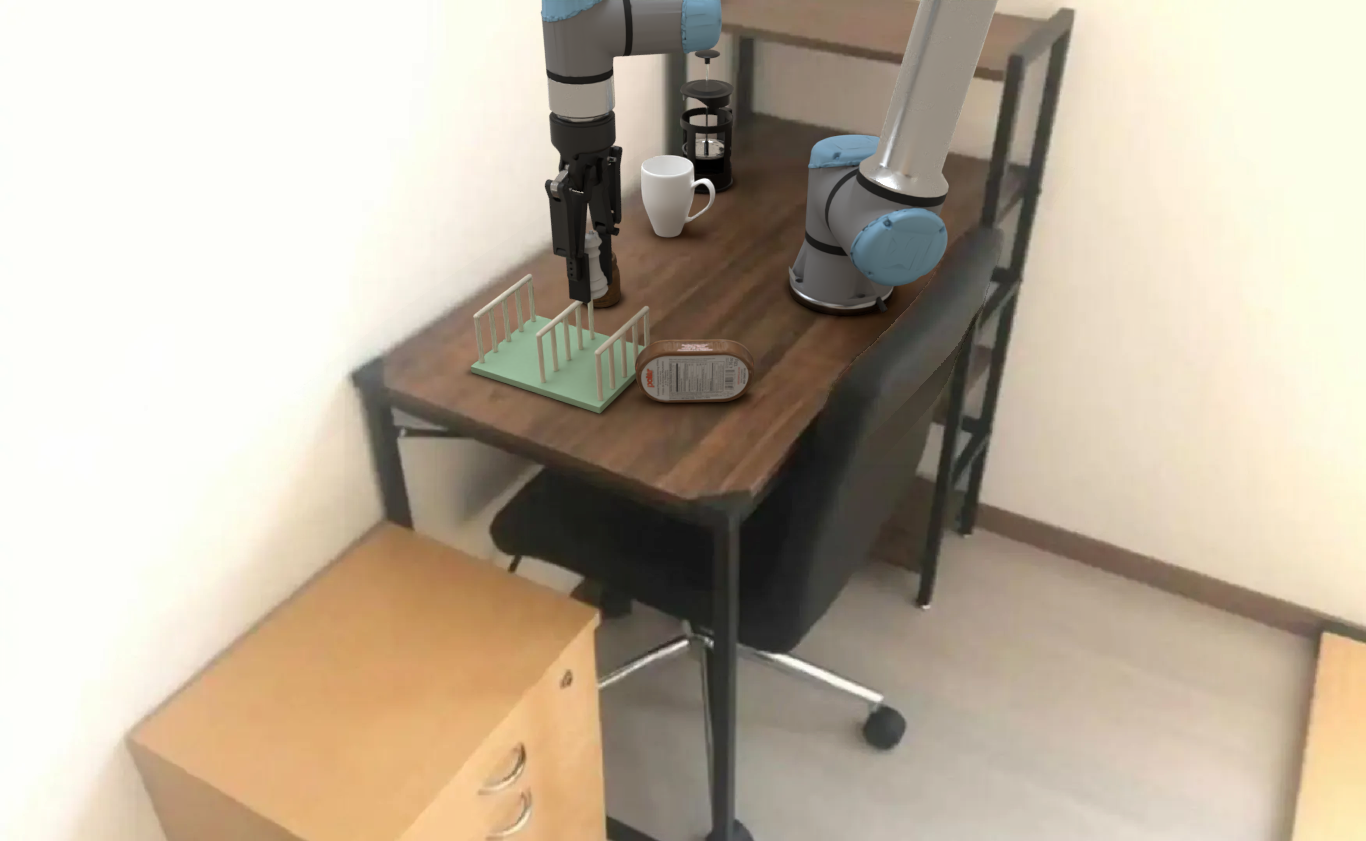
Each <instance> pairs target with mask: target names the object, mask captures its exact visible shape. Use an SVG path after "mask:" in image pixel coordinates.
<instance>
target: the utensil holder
mask: <svg viewBox="0 0 1366 841" xmlns="http://www.w3.org/2000/svg"><path fill="white" fill-rule="evenodd" d="M593 232H595V230H593ZM612 278H613V283H612V284H611V285H610V286H609V285H607V286H608V290H607V292H606V293H605V295H604V296H602V297H600V298H597V299H593V308H597V309H598V308H601V309H602V308H608V307H611V306H614V305H615V304H616V303H617V304H618V301H619V300H620V298H621V272H620V267H619V266H618V258H617V255H616V253H615V252H614V251H613V250H612ZM584 304H585V305H586V306H588V303H584Z"/></svg>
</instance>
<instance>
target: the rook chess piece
mask: <svg viewBox="0 0 1366 841" xmlns="http://www.w3.org/2000/svg"><path fill="white" fill-rule="evenodd" d="M593 231H594V230H593V229H588V233H587V232H586V235H585V249H584V253H587V254H589V270H590V289H591V299H597V298H600V297H602V296H604V295H605V293H606V292H607V290H608V286H607V279H606V277H605V276H604V274H603V272H602V271H601V268H600V263H599V254H600V250H599V249H598V247H599V245H600V244H601V243H602V240H601V239H600V238H599V235H598V232H596V231H594V234H593Z"/></svg>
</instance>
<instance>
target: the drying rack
mask: <svg viewBox="0 0 1366 841" xmlns="http://www.w3.org/2000/svg"><path fill="white" fill-rule="evenodd" d="M525 284H527V291H528V304H529V313H530V318H529V319H528V320H526V321H525V322H524V318H523V308H522V298H521V288H522V287H523V286H525ZM512 294H514V299H515V308H516V317H517V327H518V328H516V329H515V330H514V331H512V332H511V325H510V319H509V318H510V317H509V306H508V297H510V296H511V295H512ZM534 294H535V293H534V283H533V275H532V274H531V273H528V274H526V275H525V276H524V277H522V278H521V279H519V280H518V281H517V282H515V283H514V284H513V285H511V286H510V287H508V288H507V289H506V290H505V291H504V292H502V293H501V294H499V295H498V296H497V297H496V298H494V299H492V300H491V301H490V302H489V303H487V304H486V305H485V306H483V307H482V308H480V309H479V310H478V311H477V312H475V313H474V314H473V316H472V317H473V323H474V329H475V330H474V331H475V339H476V345H477V353H478V360H476V361H475V362H474V363H473V364H471V365H470V372H471V373H472V374H475V375H479V376H481V377H485V378H488V379H491V380H495V381H497V382H501V383H503V384H507V385H510V386H512V387H516V388H519V389H523V390H526V391H528V392H532V393H534V394H537V395H541V396H543V397H547V398H550V399H553V400H557V401H560V402H562V403H565V404H568V405H572V406H575V407H578V408H581V409H584V410H587V411H591V412H593V413H597V414H600V415H601V413H603V411H605V409H606V408H607V407H608V406H609V405H610V404H611V403H613V402H614V400H616V399H617V398H618V396H620V394H622V393H623V392H624V391H625V390H626V389H627V388H628V387H630V385H631V384H632V383H633V382H634V381H635V380H636V371H635V363H636V359H637V357H638V355H639V353H640V352H641V351H642V350H643V349H644V348H645V347H647V346H648V345H650V344H651V336H650V335H651V334H650V332H651V331H650V307H649V306H648V305H644V306H643V307H642V308H641V309H640V310H639V311H638V312H637V313H635V314H634V315H633V316H632V317H631V318H630V319H629V320H628V321H626V322H625V323H624V324H623V325H622V326H621V327H620V328H619V329H618V330H616V331H615V332H614V333H613V334H612V335H611V336H610V335H607V334H606V335H605V334H603V333H599V332H596V331H595V317H594V316H595V315H594V307H593V299H591V301H590V302H589V303H588V305H587V315H588V329H586V328H583V324H582V310H581V305H582V304H584V302H581V301H577V300H574V301H573V302H572V303H571V304H570V305H569V306H568V307H566V308H565V309H564V310H563V311H562V312H560V313H559V314H557V315H556V316H555V317H554V318H553V319H550V318H548V317H544V316H540V315H537V314H536V303H535V295H534ZM500 303H501V309H502V317H503V325H504V334H505V338H504V339H502V341H500V342H499V343H498V337H497V329H496V321H495V320H496V319H495V312H494V311H495V310H494V308H496V307H497V306H498V305H500ZM574 311H575V312H574ZM573 312H574V313H575V325H571V324H570V323H569V316H570V315H571V313H573ZM487 313H488V322H489V329H490V338H491V345H492V346H491V347H492V348H491V349H490V350H489V351H487V353H485V351H484V344H483V335H482V328H481V320H480V319H481V318H482V317H484V316H485V315H486V314H487ZM642 318H643V334H644V335H643V336H644V339H643V340H644V345H641V344H639V326H638V324H639V322H638V321H640V320H641V319H642ZM630 329H632V330H631V332H632V333H631V334H632V342H630V341H627V331H628V330H630Z"/></svg>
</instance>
